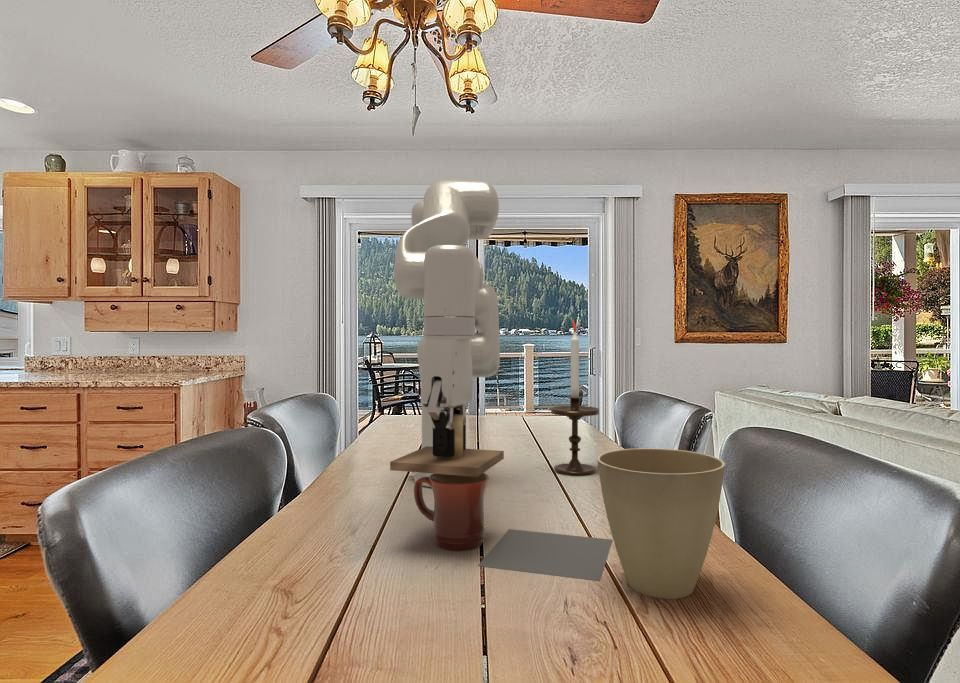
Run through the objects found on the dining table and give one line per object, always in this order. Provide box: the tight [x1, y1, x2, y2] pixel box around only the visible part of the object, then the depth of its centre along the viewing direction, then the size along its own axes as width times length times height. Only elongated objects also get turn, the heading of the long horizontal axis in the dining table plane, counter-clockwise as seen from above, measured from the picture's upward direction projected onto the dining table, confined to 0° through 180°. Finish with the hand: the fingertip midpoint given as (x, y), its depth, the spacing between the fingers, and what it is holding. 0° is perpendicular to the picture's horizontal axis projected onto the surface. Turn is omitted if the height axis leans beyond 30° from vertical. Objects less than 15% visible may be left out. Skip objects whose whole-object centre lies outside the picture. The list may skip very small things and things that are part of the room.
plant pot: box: [596, 447, 726, 600], centre depth 74 cm, size 15×15×16 cm
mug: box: [413, 472, 490, 552], centre depth 90 cm, size 12×9×10 cm
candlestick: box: [550, 319, 600, 477], centre depth 138 cm, size 11×11×35 cm
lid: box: [389, 414, 505, 477], centre depth 89 cm, size 13×13×7 cm
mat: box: [477, 528, 614, 582], centre depth 85 cm, size 16×16×1 cm
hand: (449, 452), depth 89 cm, fingers closed on lid, 4 cm apart
